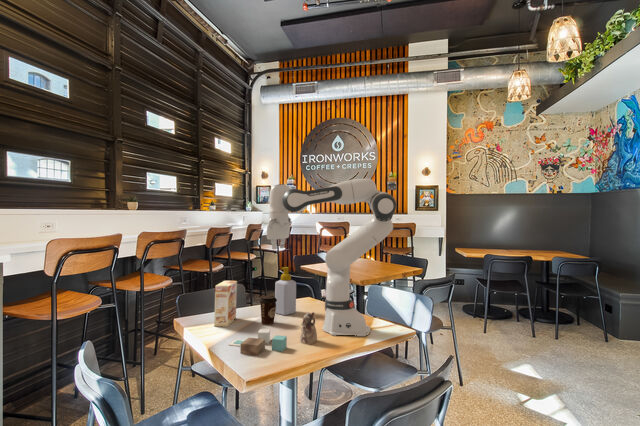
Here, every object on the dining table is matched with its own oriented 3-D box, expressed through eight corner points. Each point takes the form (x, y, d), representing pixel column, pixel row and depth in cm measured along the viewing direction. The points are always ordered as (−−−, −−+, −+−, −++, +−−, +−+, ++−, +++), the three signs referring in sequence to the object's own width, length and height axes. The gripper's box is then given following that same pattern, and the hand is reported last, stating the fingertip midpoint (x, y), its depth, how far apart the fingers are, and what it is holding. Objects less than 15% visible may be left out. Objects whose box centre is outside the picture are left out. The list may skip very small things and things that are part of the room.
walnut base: (265, 349, 132) (265, 339, 132) (257, 356, 126) (257, 345, 126) (248, 347, 134) (249, 337, 134) (240, 354, 127) (240, 343, 127)
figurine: (297, 339, 143) (298, 311, 143) (312, 337, 146) (313, 310, 146) (303, 345, 137) (304, 315, 137) (319, 343, 139) (319, 314, 140)
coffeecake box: (228, 326, 159) (229, 285, 160) (213, 326, 159) (214, 285, 160) (236, 318, 174) (237, 280, 175) (223, 317, 174) (224, 280, 175)
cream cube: (270, 339, 143) (270, 329, 143) (268, 343, 138) (268, 332, 138) (259, 339, 143) (259, 329, 143) (257, 343, 138) (258, 332, 138)
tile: (248, 341, 140) (248, 340, 140) (242, 346, 134) (242, 345, 134) (235, 340, 141) (235, 338, 141) (228, 345, 136) (228, 343, 136)
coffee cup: (278, 321, 169) (279, 295, 170) (274, 326, 161) (275, 299, 162) (261, 320, 170) (262, 294, 171) (257, 325, 162) (257, 298, 162)
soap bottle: (273, 313, 184) (274, 267, 185) (284, 310, 191) (285, 265, 192) (285, 316, 178) (286, 269, 179) (296, 312, 186) (297, 267, 186)
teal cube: (286, 347, 134) (286, 336, 134) (282, 351, 130) (282, 340, 130) (275, 346, 135) (276, 335, 135) (271, 350, 131) (272, 338, 131)
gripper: (276, 218, 145) (276, 250, 145) (292, 219, 165) (291, 247, 165) (263, 218, 147) (262, 250, 147) (280, 219, 167) (279, 247, 166)
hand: (278, 248), depth 156 cm, fingers open, 8 cm apart
